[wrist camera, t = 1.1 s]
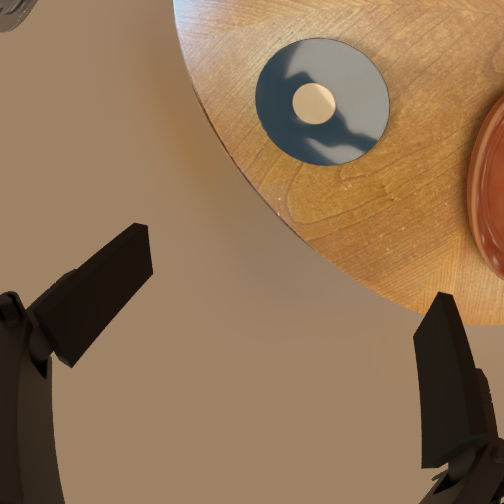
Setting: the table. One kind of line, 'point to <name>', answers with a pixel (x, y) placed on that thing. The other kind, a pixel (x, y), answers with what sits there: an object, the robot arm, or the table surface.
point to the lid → (322, 101)
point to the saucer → (488, 189)
